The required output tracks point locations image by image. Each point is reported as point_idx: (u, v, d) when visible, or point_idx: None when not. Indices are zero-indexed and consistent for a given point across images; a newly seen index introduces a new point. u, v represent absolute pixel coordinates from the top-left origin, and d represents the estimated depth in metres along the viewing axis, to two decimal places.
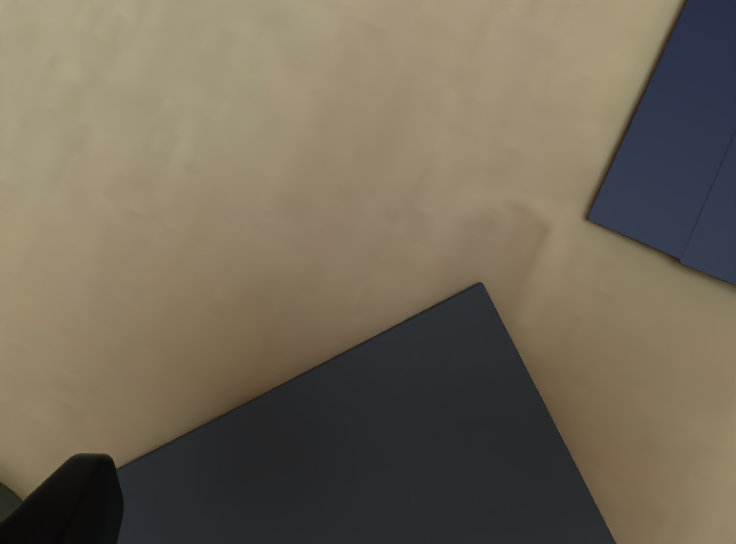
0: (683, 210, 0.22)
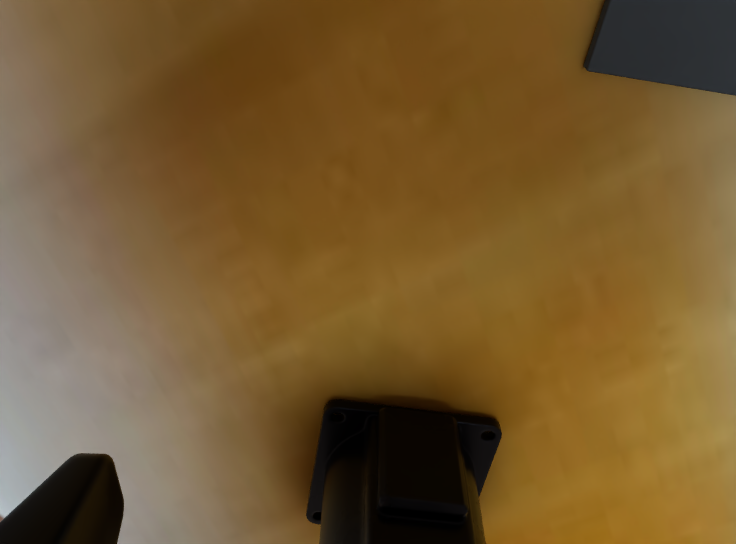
0: None
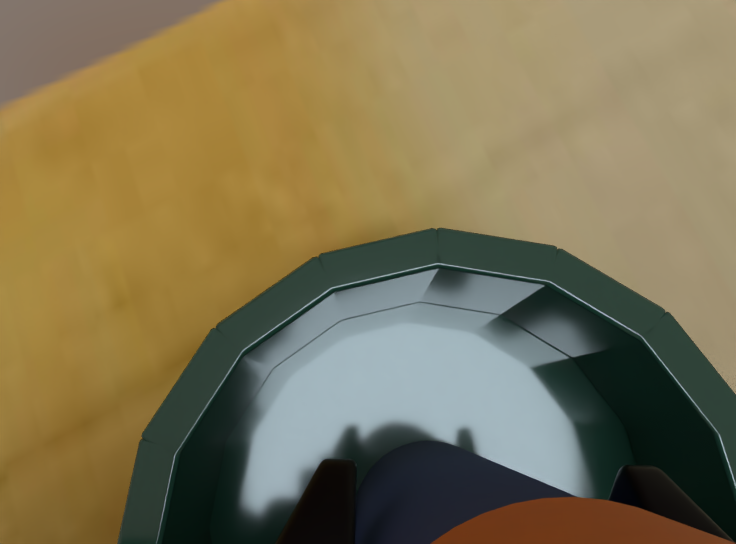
0: None
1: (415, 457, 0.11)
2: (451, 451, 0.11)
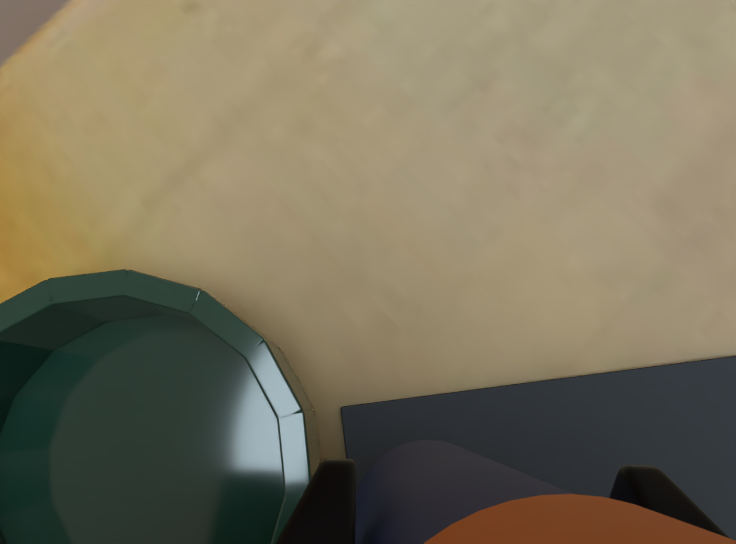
0: None
1: (414, 456, 0.11)
2: (450, 450, 0.11)
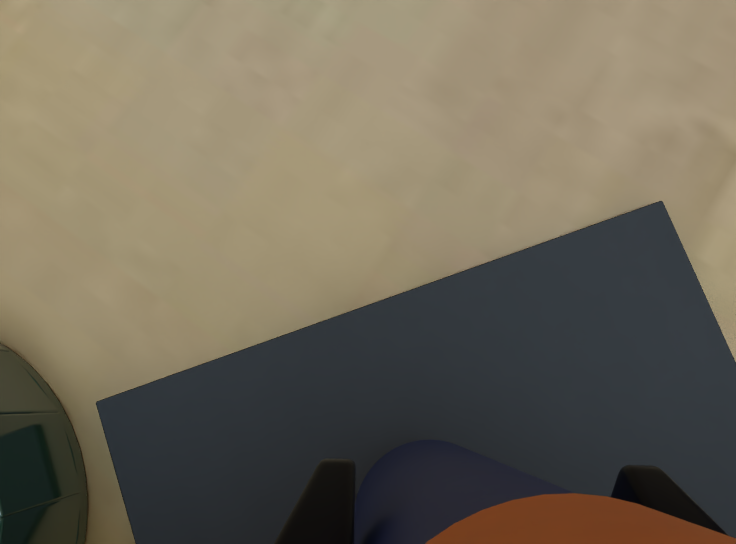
0: None
1: (416, 456, 0.11)
2: (452, 450, 0.11)
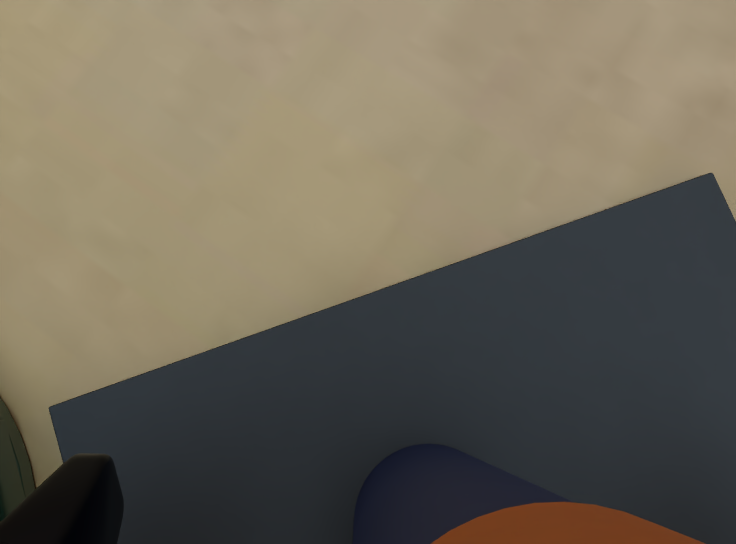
0: None
1: (415, 460, 0.12)
2: (450, 455, 0.12)
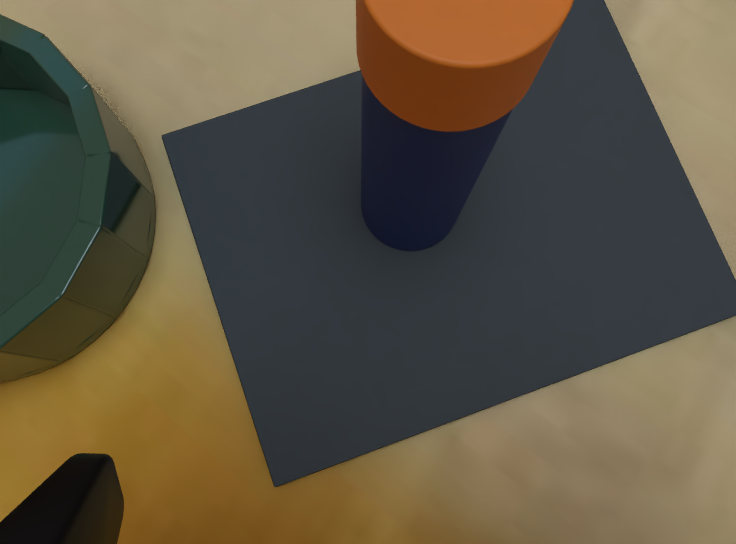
0: None
1: None
2: None
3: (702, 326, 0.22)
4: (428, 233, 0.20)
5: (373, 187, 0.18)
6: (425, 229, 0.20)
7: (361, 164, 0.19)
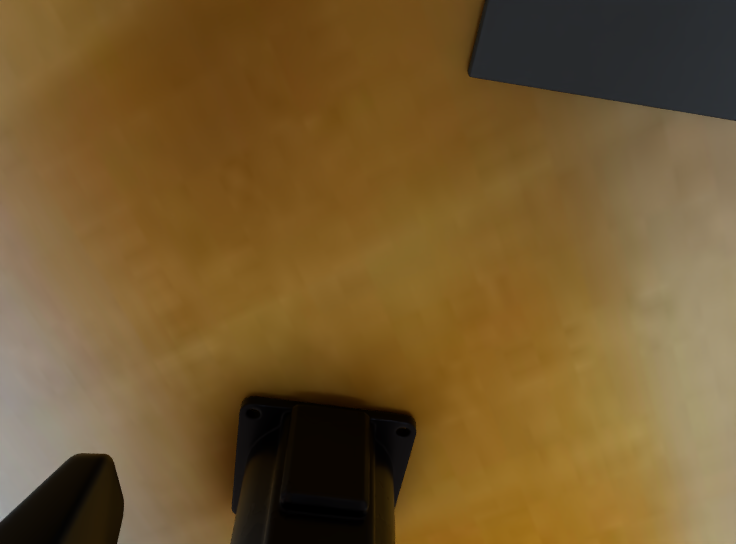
0: None
1: None
2: None
3: None
4: None
5: None
6: None
7: None
